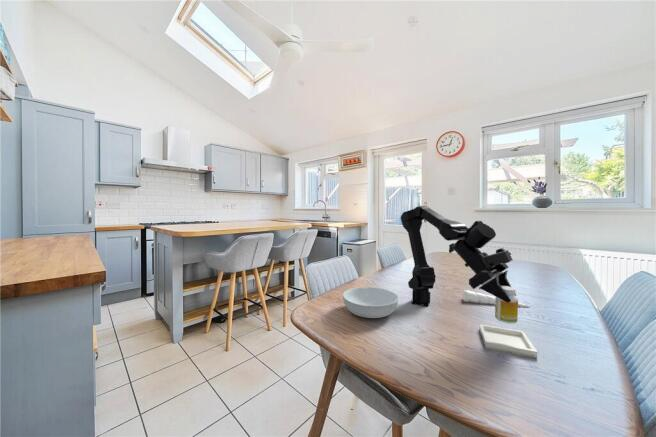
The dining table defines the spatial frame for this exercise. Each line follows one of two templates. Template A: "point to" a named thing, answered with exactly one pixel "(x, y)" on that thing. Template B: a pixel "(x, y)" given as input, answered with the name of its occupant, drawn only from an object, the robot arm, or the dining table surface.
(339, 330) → the dining table surface
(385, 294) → the serving bowl
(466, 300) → the unicorn horn
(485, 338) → the dish
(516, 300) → the supplement bottle
